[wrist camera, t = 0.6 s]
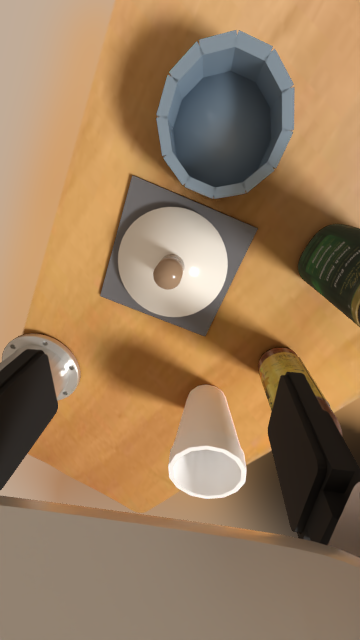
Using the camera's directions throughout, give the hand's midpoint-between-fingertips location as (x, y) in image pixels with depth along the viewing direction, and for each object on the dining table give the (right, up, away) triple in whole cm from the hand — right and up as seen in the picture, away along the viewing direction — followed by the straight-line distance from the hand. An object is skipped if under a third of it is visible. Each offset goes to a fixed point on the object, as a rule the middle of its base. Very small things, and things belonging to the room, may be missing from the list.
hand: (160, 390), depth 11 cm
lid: (0, +10, +24) cm, 26 cm away
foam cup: (+5, -10, +33) cm, 35 cm away
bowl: (+5, +23, +18) cm, 30 cm away
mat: (0, +10, +24) cm, 26 cm away
